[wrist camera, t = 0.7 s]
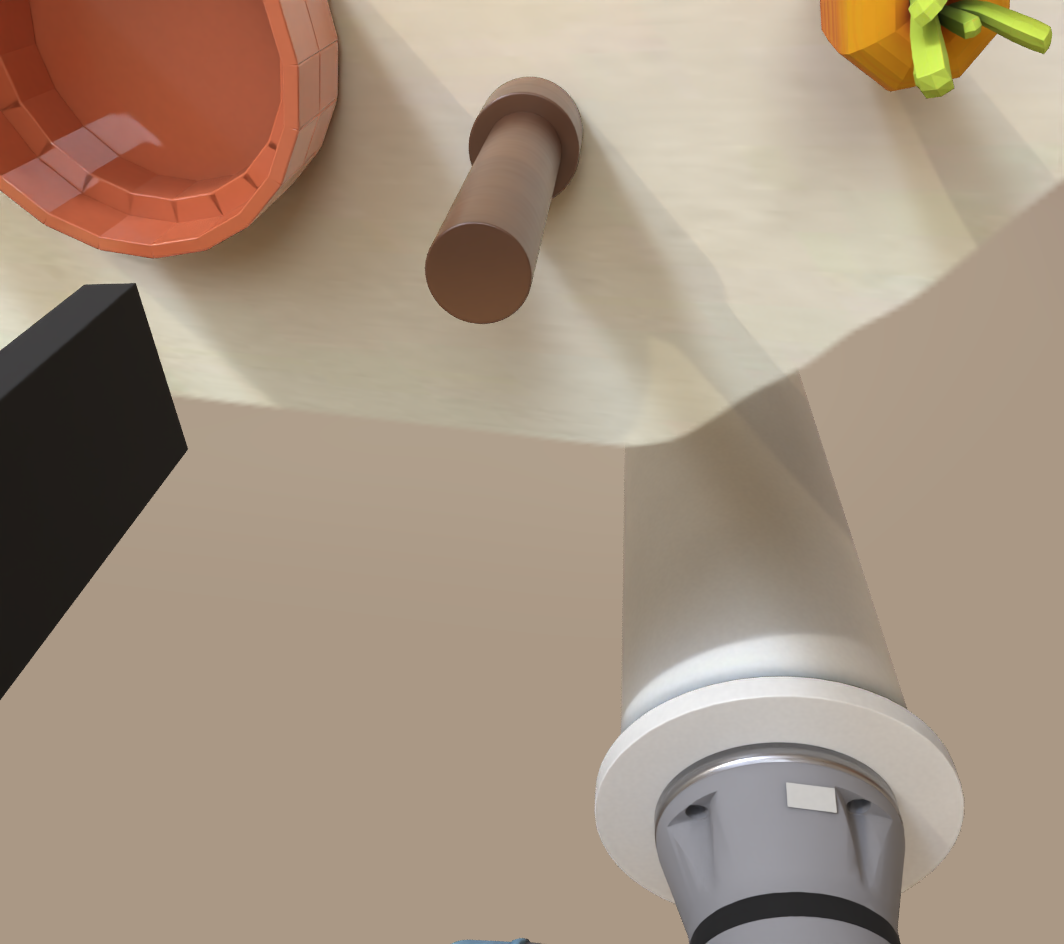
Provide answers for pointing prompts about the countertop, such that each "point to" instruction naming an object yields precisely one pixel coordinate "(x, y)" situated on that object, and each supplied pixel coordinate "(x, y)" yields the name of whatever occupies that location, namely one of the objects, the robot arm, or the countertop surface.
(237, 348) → the countertop surface
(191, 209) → the bowl
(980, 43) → the carrot
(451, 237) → the brown pestle
